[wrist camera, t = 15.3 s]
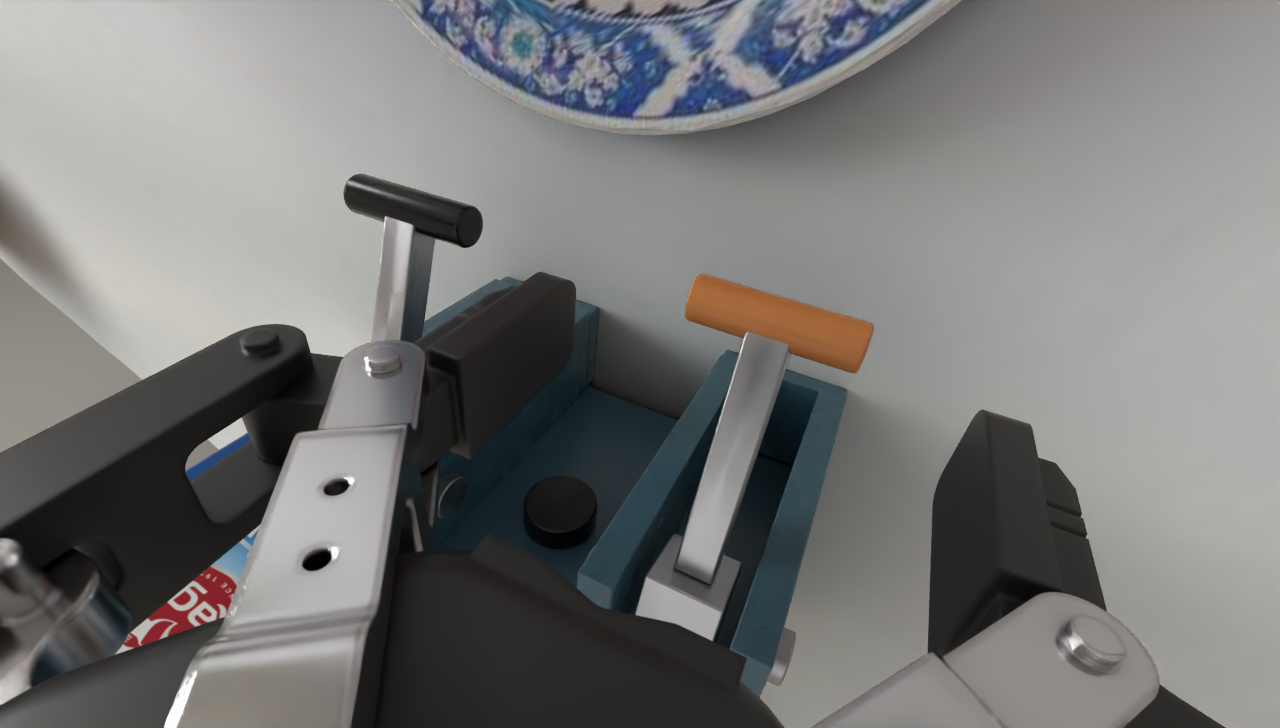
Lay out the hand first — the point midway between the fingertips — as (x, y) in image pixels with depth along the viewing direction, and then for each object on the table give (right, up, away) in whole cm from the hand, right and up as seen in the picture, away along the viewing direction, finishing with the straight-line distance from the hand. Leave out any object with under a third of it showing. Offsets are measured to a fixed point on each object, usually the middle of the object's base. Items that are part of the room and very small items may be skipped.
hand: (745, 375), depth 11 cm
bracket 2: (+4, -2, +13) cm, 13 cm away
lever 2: (0, -3, +5) cm, 5 cm away
